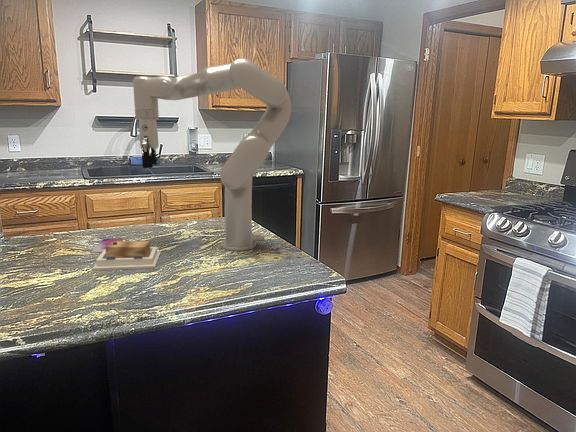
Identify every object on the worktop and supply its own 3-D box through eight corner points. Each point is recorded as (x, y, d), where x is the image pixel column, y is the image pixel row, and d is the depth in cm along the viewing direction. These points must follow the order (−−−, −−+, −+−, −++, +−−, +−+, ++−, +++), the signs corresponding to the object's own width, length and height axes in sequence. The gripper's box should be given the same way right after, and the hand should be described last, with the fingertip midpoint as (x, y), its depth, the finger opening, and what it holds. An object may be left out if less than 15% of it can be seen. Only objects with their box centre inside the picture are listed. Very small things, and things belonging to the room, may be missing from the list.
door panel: (150, 256, 140) (149, 239, 138) (145, 262, 134) (144, 245, 133) (113, 256, 139) (111, 239, 138) (106, 262, 133) (105, 245, 132)
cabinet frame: (160, 253, 145) (160, 242, 144) (154, 268, 131) (154, 256, 130) (104, 255, 142) (103, 244, 141) (92, 270, 129) (91, 258, 128)
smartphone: (88, 252, 144) (103, 239, 158) (89, 254, 144) (103, 241, 158) (111, 251, 144) (123, 238, 159) (111, 254, 144) (123, 240, 159)
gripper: (154, 115, 136) (157, 169, 140) (161, 114, 153) (164, 162, 157) (130, 115, 135) (133, 169, 139) (139, 114, 152) (142, 162, 156)
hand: (149, 165), depth 148 cm, fingers open, 9 cm apart
